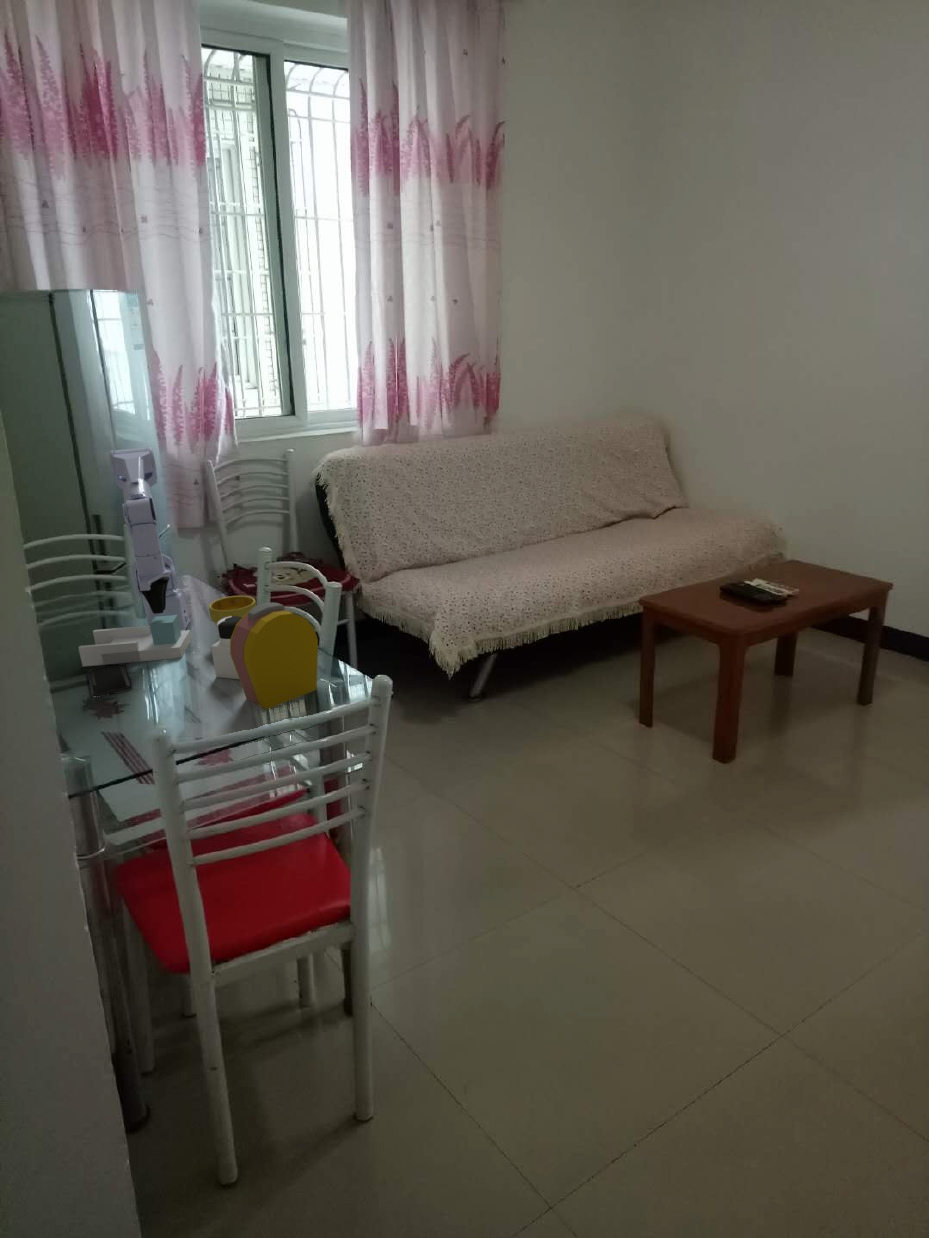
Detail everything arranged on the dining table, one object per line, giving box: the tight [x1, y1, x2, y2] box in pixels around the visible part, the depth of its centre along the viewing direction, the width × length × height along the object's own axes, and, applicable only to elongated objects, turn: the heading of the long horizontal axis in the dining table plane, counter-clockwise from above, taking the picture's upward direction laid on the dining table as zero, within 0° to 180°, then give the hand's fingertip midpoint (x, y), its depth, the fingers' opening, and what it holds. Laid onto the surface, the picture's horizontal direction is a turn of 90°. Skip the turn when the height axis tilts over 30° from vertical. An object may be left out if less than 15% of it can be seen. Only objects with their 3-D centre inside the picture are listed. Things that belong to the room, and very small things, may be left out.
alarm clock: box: [230, 601, 319, 711], centre depth 164 cm, size 15×8×18 cm, turn 133°
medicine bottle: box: [210, 616, 242, 680], centre depth 176 cm, size 7×7×12 cm
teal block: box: [150, 615, 181, 645], centre depth 191 cm, size 5×5×5 cm
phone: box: [86, 663, 133, 698], centre depth 178 cm, size 8×1×15 cm
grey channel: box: [78, 624, 193, 668], centre depth 192 cm, size 22×11×4 cm, turn 95°
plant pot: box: [208, 595, 257, 628], centre depth 193 cm, size 10×10×10 cm
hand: (159, 611), depth 190 cm, fingers closed
